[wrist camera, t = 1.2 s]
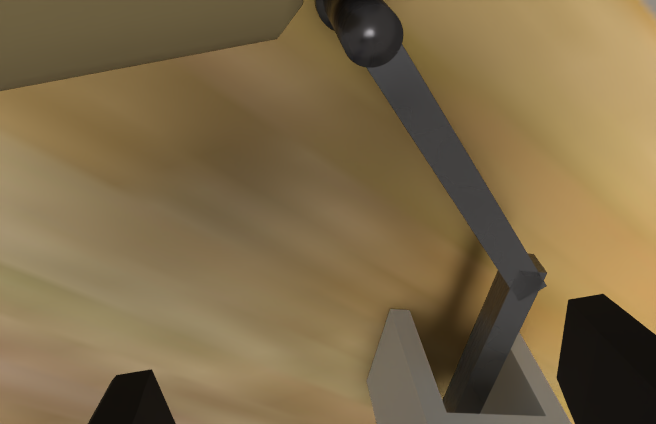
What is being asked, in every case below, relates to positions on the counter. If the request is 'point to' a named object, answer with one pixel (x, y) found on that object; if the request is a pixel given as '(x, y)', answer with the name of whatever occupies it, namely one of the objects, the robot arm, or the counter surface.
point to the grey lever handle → (459, 181)
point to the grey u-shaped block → (423, 395)
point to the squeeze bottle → (124, 33)
